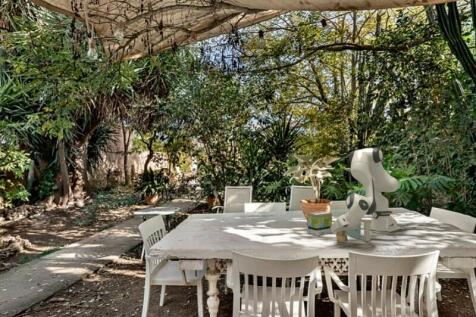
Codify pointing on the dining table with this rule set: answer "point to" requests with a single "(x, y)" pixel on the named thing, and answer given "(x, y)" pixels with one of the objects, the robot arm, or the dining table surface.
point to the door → (355, 232)
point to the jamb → (367, 230)
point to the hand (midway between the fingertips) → (339, 232)
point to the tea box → (319, 223)
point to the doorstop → (341, 236)
